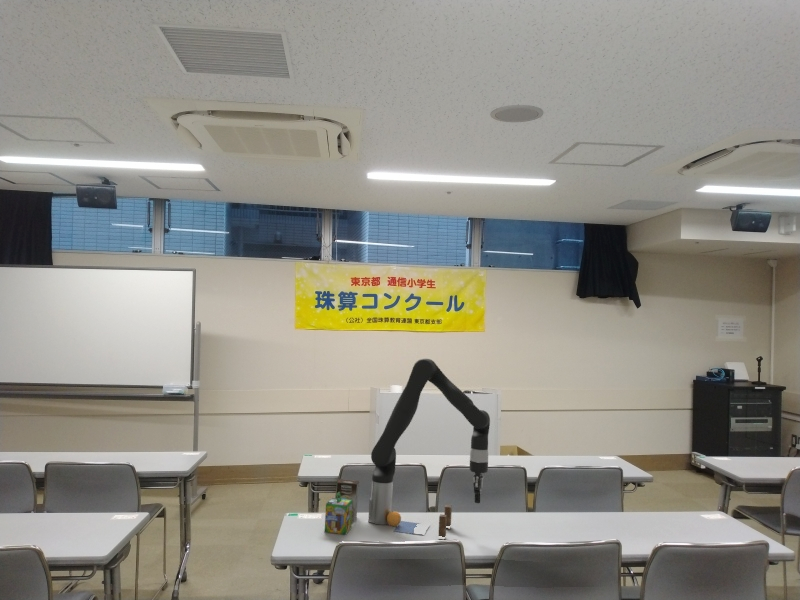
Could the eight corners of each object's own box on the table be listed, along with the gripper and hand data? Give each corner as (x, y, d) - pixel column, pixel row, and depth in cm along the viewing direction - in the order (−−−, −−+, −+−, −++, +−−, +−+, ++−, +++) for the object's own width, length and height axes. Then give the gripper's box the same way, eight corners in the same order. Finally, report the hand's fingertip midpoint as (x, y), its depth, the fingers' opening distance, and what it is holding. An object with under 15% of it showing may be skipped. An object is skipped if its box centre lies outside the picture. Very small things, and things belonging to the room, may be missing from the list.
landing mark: (393, 531, 211) (393, 530, 211) (401, 521, 224) (401, 520, 224) (423, 535, 208) (424, 535, 208) (430, 525, 220) (430, 525, 220)
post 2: (443, 528, 218) (444, 506, 218) (444, 526, 220) (445, 505, 221) (449, 529, 217) (450, 507, 218) (450, 527, 219) (451, 505, 220)
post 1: (438, 539, 205) (439, 516, 206) (439, 537, 208) (440, 514, 208) (444, 540, 204) (445, 517, 205) (445, 537, 207) (446, 515, 208)
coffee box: (333, 520, 221) (336, 482, 222) (337, 515, 227) (339, 478, 229) (354, 522, 220) (356, 483, 221) (357, 517, 226) (359, 480, 228)
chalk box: (345, 535, 204) (347, 497, 206) (323, 532, 206) (326, 495, 207) (352, 527, 213) (354, 491, 215) (331, 525, 215) (333, 489, 216)
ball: (384, 525, 216) (386, 511, 216) (387, 521, 222) (390, 507, 222) (397, 530, 214) (400, 515, 214) (400, 525, 220) (403, 511, 220)
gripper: (471, 455, 219) (470, 497, 218) (467, 461, 206) (466, 506, 205) (489, 457, 217) (488, 499, 216) (486, 463, 204) (485, 508, 203)
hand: (477, 502), depth 210 cm, fingers closed
